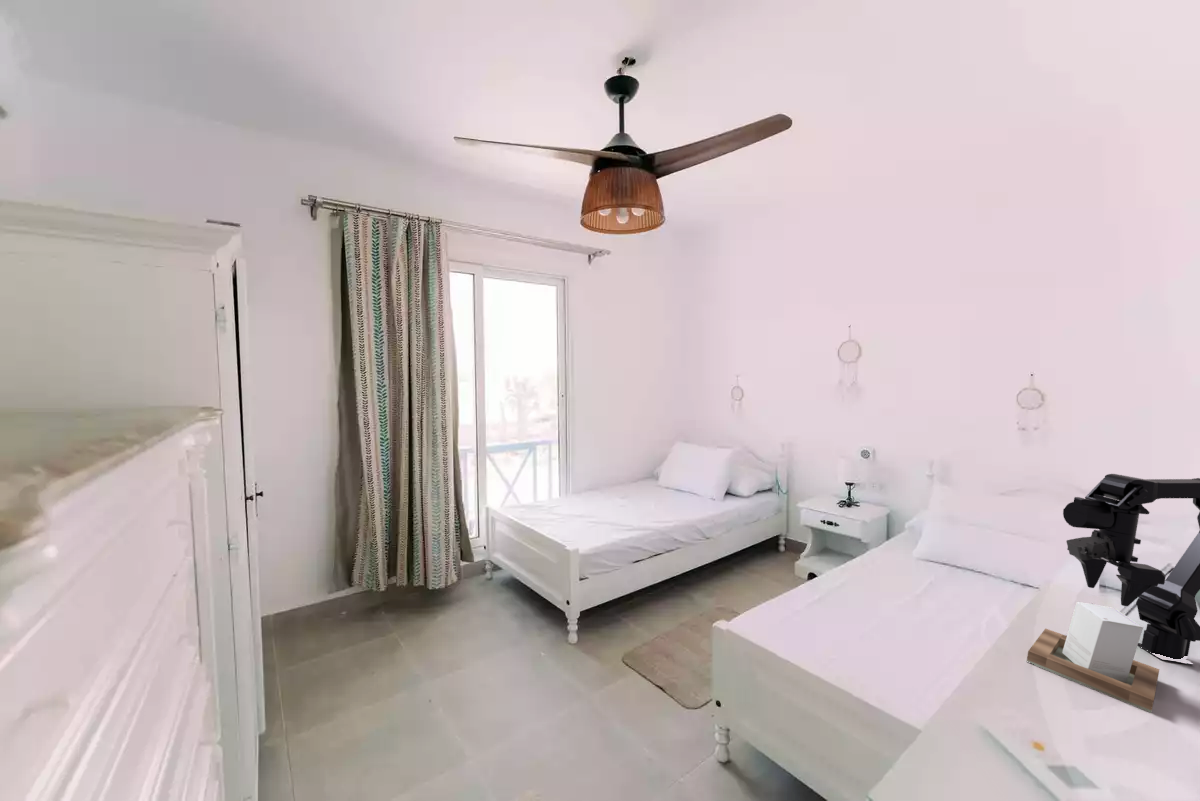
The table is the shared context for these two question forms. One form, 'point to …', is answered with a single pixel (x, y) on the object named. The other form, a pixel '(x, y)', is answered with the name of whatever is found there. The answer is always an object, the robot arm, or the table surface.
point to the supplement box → (1102, 640)
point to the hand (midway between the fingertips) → (1106, 596)
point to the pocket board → (1132, 691)
